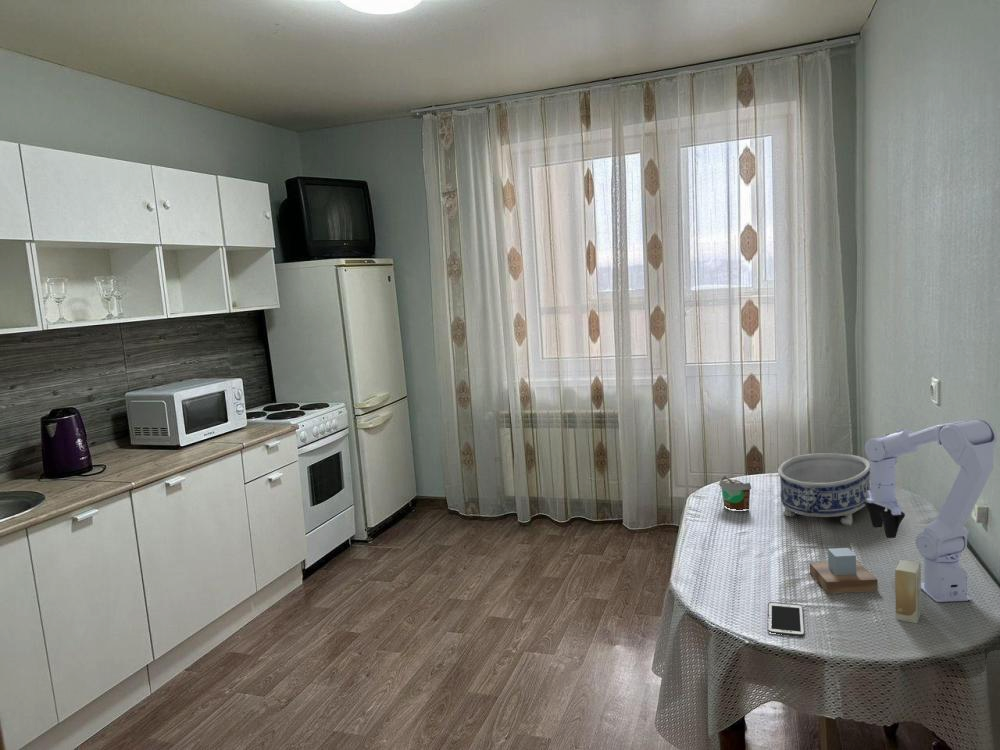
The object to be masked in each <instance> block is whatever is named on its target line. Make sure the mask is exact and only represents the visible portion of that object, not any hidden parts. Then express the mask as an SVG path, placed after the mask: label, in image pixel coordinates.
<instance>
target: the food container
mask: <svg viewBox="0 0 1000 750" xmlns="http://www.w3.org/2000/svg"><path fill="white" fill-rule="evenodd" d="M718 485H719V487H720V488H721V493H722V501H723V507H724V506H726V507H727V508H730V509H736V510H743V509H749V510H750V497H751V490H752V485H751V482H746V483H744V482H741V481H739V480H736V479H730V478H727V475H723V476H722V477H720V479H719V484H718Z"/></svg>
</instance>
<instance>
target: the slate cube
mask: <svg viewBox="0 0 1000 750" xmlns="http://www.w3.org/2000/svg"><path fill="white" fill-rule="evenodd" d="M827 556H828V557H827V558H828V559H827V560H828V567H829V568H830V569H831V571H832V572H833V573H834V574H835V575H855V574H856V560H857V555H856V554H855V553H854V552H853V551H852V550H851V549H850V548H849V547H837V548H828V549H827Z"/></svg>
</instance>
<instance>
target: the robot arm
mask: <svg viewBox="0 0 1000 750" xmlns="http://www.w3.org/2000/svg"><path fill="white" fill-rule="evenodd" d="M895 431H896V432H894V433H891V434H890V433H884V434H883V435H882V437H878V438H877V437H876V438H870V439H869V440H867V441H866V442H865V444H864V452H865V454H866V457H867V458H868V459H869V460H870V461H869V462H870V467H871V468H870V489H871V490H868V491H867V497H868V498H867V500H864V504H865V506H864V507H866V509H867V512H868V514H869V519H870V522H871V525H872V528H874V529H875V528H882V527H883V528H884V533H885V537H886V538H887V539H895V538H896V537H897V534H898V530H899V528H900V525H901V523H902V521H903V520H904V518H905V517H906V513H905V512H903V511H902V507H901V506H900V505H899V502H898V499H897V486H896V484H897V483H896V481H897V480H896V477H897V476H896V465H897V463H898V459H899V457H900V456H904V455H908V454H909V455H910V454H912V453H916V452H918V450H919V449H920V447H921V445H925V444H929V443H933V442H937V444H938V445H939V446H942V447H943V448H944V449H945V451H946V452H947V453H948V455H949V456H950V458H952V460H953V461H954V463H955V464H956V465H958V466H959V467H960V469H959V471H958V473H957V475H956V478H955V479H954V482H953V484H952V486H951V488H950V490H949V493H948V494H947V496H946V498H945V500H944V502H943V504H942V506H941V509H940V511H939V514H938V515H937V517H936V519H935V520H933V521H932V522H930V523H929V524H928V525H926V526H925V528H924V529H923V531H921V532H919V533H918V534H917V536H916V538H915V545H916V546H915V547H916V548H917V551H918V553H920V554H921V557H923V582H921V591H923V592H924V593H925V594H927V595H928V596H929V597H930V598H931V599H932V600H934V601H935V602H936V603H943V602H946V603H947V602H964V601H966V602H968V600H969V601H972V597H970V596H969V595H968V575H967V572H966V570H964V568H962V566H961V563H960V558H961V557H962V553H963V552H964V551H965V550H966V549H967V546H968V536H969V534H970V531H969V530H968V528H967V527H966V526H965V525H966V523H967V522H968V519H969V517H970V516H971V513H972V512H973V509H974V507H975V505H976V503H977V501H978V499H979V498H980V495H981V493H982V491H983V490H984V488H985V485H986V483H987V482H988V480H989V478H990V476H991V474H992V472H993V470H994V448H995V447H996V444H997V442H998V440H999V438H998V435H997V434H996V432H995V430H994V427H993V425H992V424H991V423H990V422H989V421H987V420H985V419H982V418H976V419H972V420H961V421H954V422H947V423H942V424H937V425H934V426H929V427H927V428H925V429H922V430H918V431H916V432H914V430H913V431H912V430H910V429H905V428H899V429H896V430H895Z"/></svg>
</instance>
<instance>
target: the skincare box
mask: <svg viewBox="0 0 1000 750" xmlns="http://www.w3.org/2000/svg"><path fill="white" fill-rule="evenodd" d="M921 566H922V565H921V562H917V561H911V560H904V559H899V561H898V562H897V564H896V565H895V569H894V581H895V587H894V588H895V589H894V590H895V591H894V592H895V593H894V594H895V595H894V596H895V620H898V621H904V622H908V623H912V624H918V622H919V619H920V617H921V613H922V589H921V583H922V573H921V572H922V568H921Z"/></svg>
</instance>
